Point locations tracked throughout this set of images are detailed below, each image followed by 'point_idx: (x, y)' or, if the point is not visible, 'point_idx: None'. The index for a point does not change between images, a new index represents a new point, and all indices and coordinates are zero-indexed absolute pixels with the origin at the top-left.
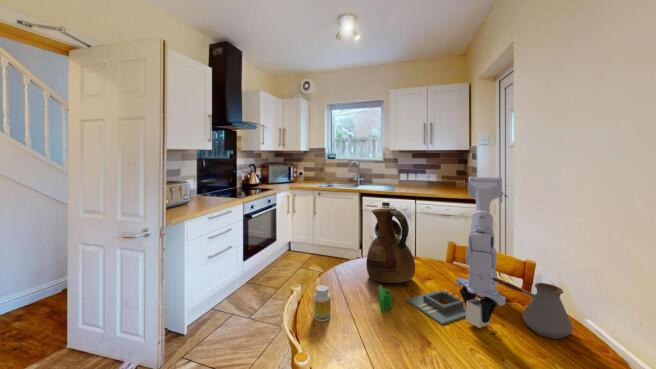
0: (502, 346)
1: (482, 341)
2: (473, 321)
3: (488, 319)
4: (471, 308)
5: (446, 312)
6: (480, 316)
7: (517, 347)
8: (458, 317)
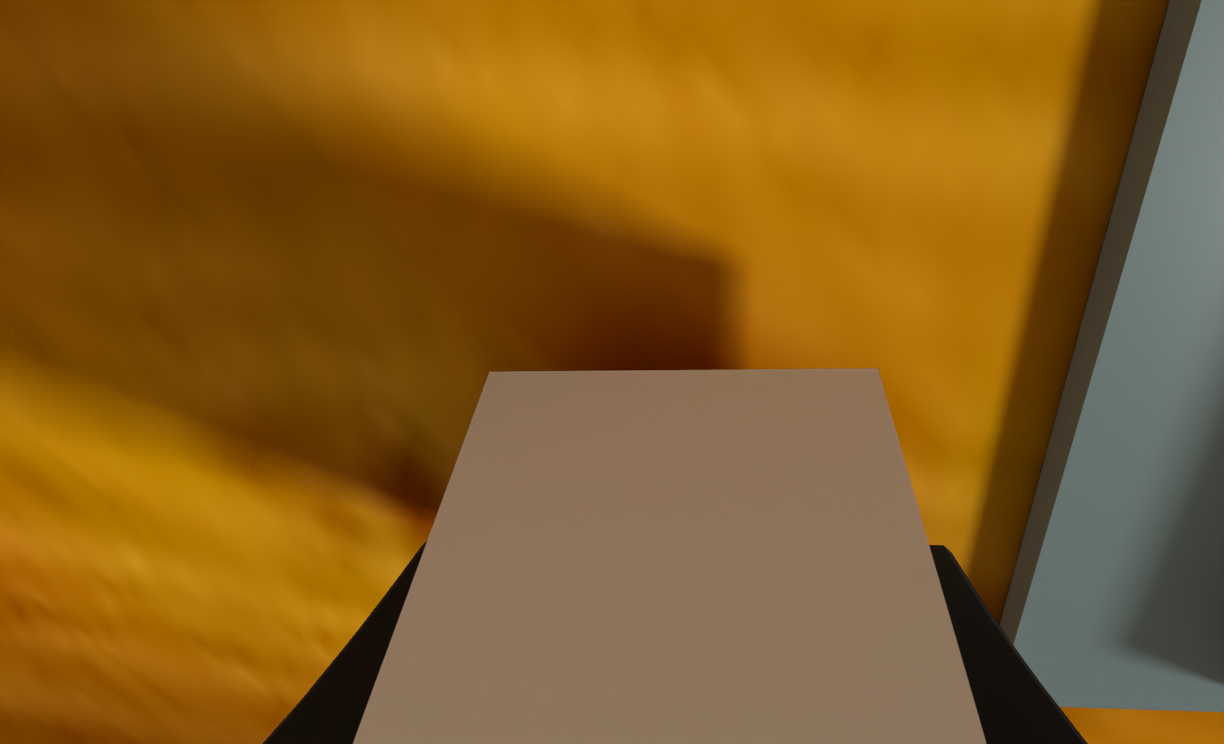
0: (51, 332)
1: (224, 118)
2: (647, 419)
3: None
4: (729, 714)
5: None
6: (412, 613)
7: (28, 498)
8: (1102, 344)
